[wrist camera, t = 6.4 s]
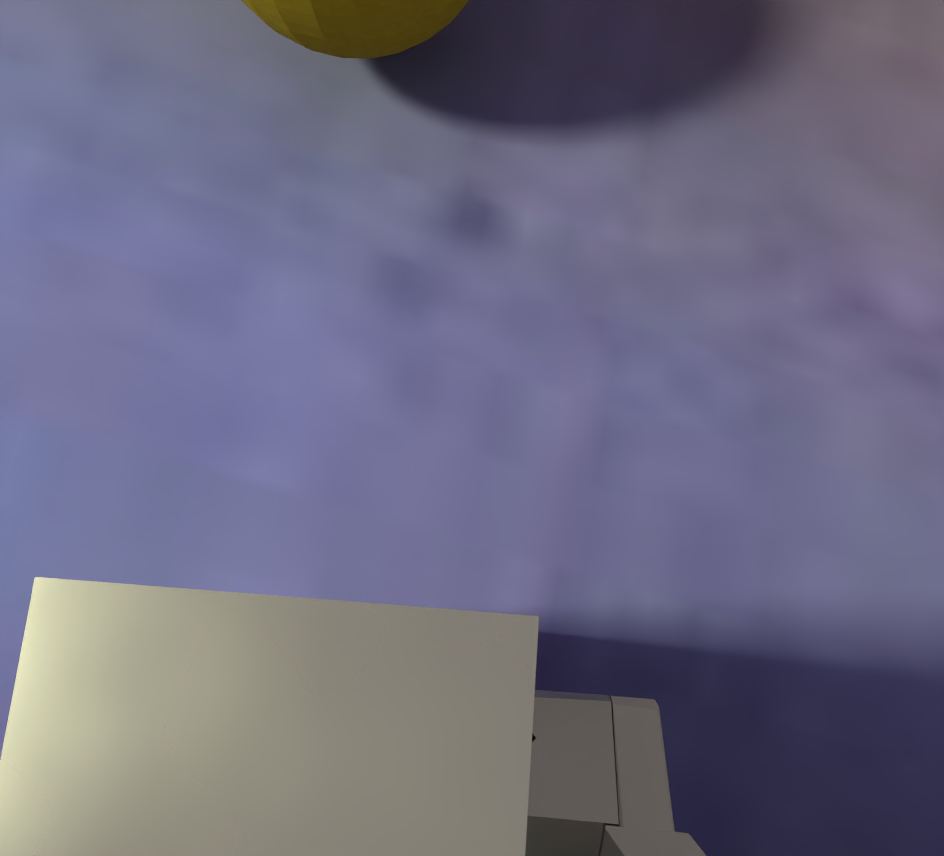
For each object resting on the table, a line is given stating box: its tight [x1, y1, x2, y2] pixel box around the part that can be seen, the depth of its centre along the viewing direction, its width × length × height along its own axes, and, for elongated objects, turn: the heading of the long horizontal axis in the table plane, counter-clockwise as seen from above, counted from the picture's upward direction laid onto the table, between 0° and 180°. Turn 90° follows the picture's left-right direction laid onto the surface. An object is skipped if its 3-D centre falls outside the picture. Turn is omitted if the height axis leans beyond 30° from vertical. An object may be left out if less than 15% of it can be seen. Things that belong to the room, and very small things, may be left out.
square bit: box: [0, 577, 539, 856], centre depth 10 cm, size 4×4×10 cm
